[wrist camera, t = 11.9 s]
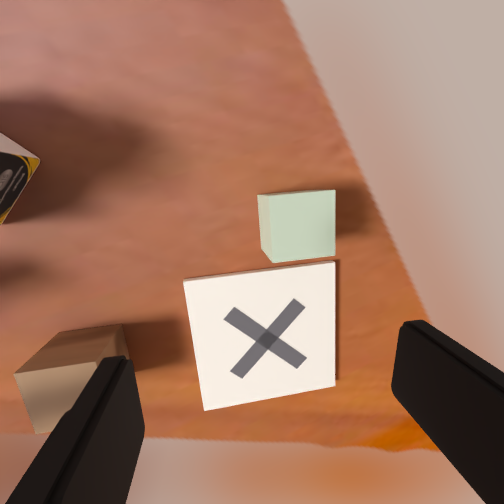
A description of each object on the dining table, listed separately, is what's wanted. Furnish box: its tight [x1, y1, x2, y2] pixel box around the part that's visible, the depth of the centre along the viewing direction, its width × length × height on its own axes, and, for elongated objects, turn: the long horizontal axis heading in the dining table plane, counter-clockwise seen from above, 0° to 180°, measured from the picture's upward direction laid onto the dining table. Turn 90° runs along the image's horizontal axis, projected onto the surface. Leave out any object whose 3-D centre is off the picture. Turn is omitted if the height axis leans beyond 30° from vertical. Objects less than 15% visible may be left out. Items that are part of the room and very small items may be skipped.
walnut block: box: [14, 324, 130, 434], centre depth 23 cm, size 6×6×6 cm
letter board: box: [183, 260, 335, 411], centre depth 28 cm, size 16×16×1 cm
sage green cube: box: [257, 190, 335, 263], centre depth 23 cm, size 6×6×6 cm
